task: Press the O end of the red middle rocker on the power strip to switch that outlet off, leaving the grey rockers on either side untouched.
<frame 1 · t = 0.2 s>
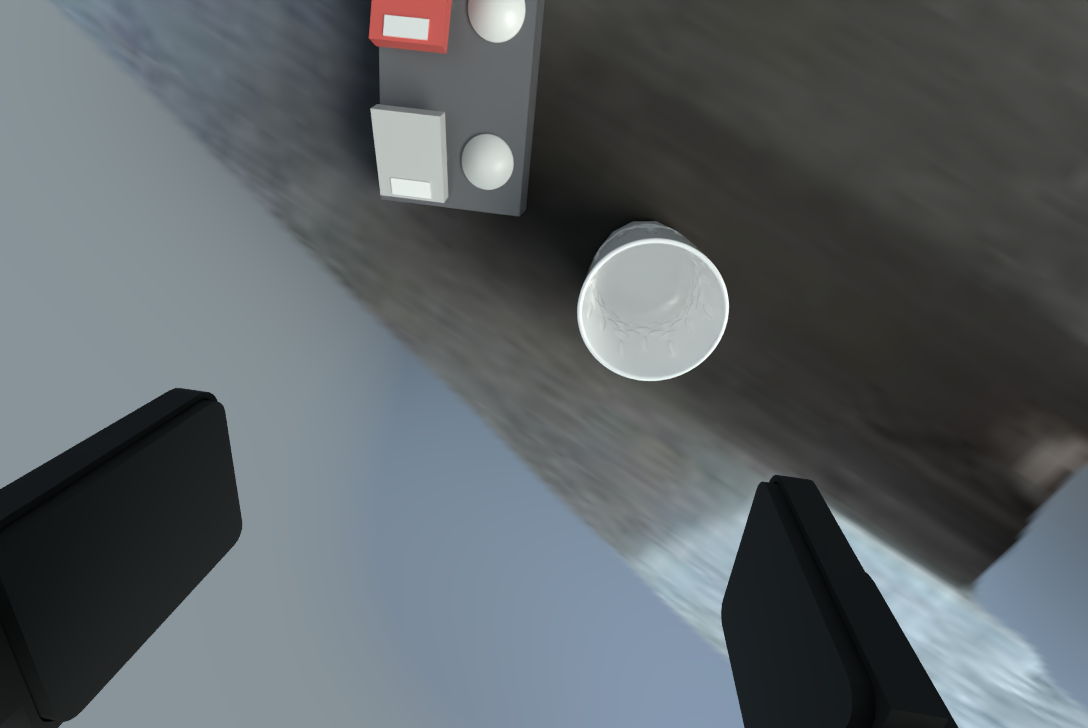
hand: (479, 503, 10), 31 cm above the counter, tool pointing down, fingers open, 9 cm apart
power strip: (469, 15, 33), on the counter
white cup: (642, 268, 38), on the counter
outlet 3 rocker: (411, 155, 33), point 5 cm above the counter, hinge at 15.0°
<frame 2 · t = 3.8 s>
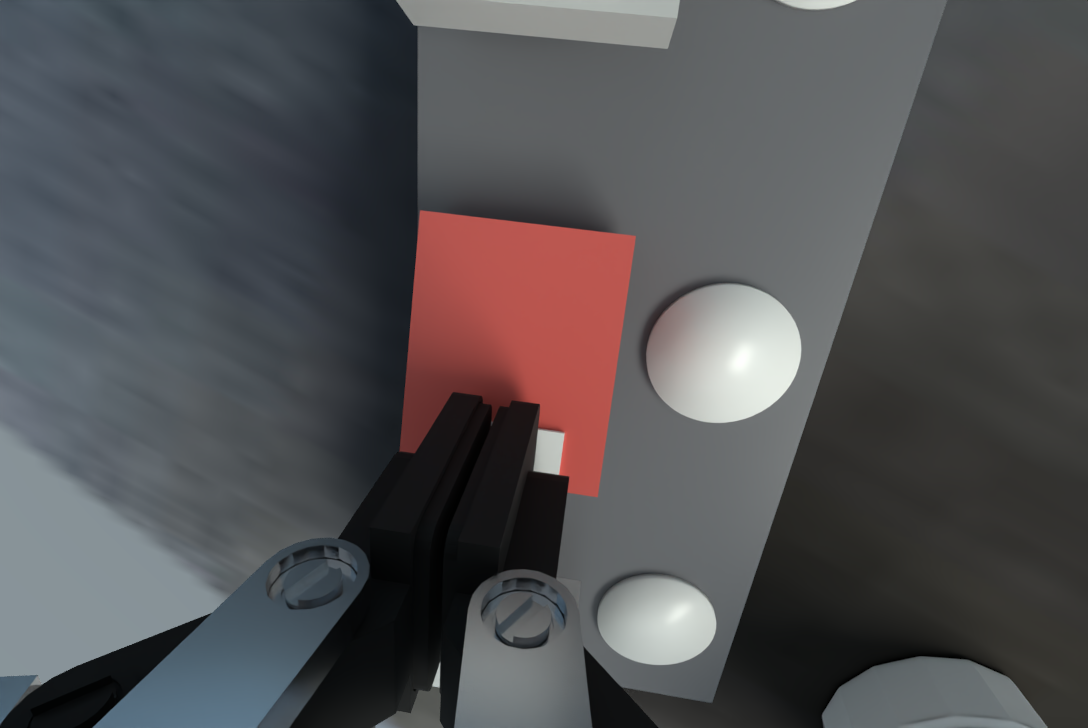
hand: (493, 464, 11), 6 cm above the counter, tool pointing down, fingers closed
power strip: (615, 300, 15), on the counter
white cup: (917, 714, 20), on the counter
outlet 2 rocker: (514, 354, 11), point 5 cm above the counter, hinge at -15.0°, touching gripper
outlet 3 rocker: (491, 639, 14), point 5 cm above the counter, hinge at 15.0°
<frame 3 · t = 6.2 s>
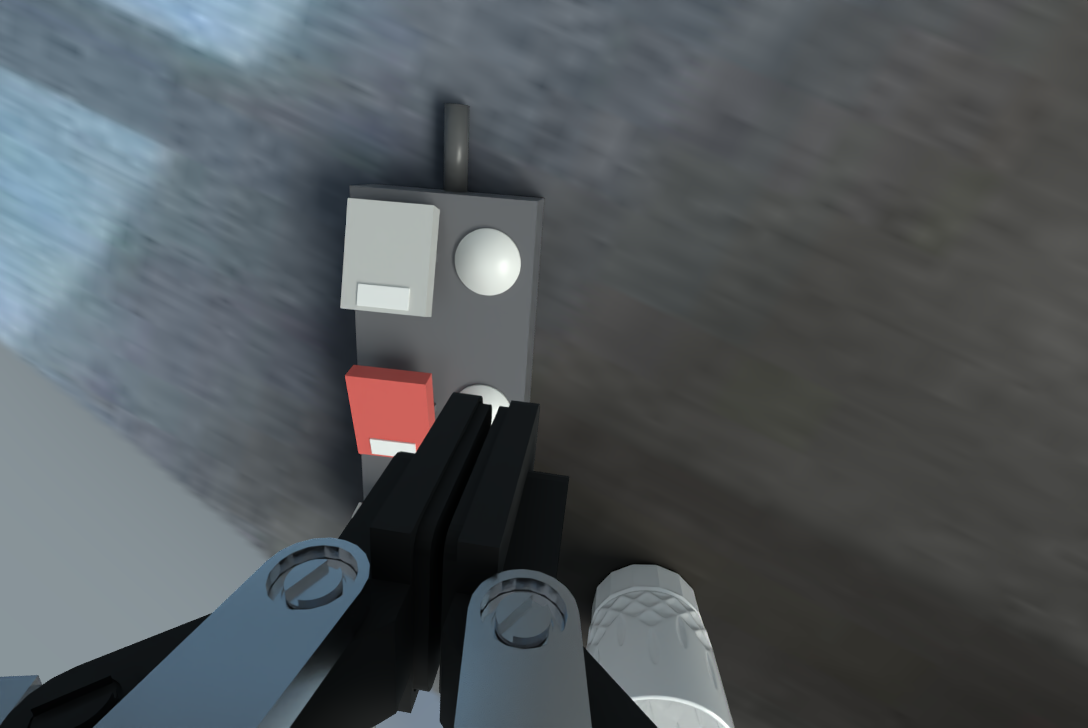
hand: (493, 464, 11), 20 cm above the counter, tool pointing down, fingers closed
power strip: (454, 386, 32), on the counter
white cup: (644, 601, 36), on the counter
outlet 2 rocker: (393, 415, 28), point 5 cm above the counter, hinge at 12.7°
outlet 3 rocker: (396, 544, 31), point 5 cm above the counter, hinge at 15.0°
outlet 1 rocker: (390, 258, 25), point 5 cm above the counter, hinge at -15.0°
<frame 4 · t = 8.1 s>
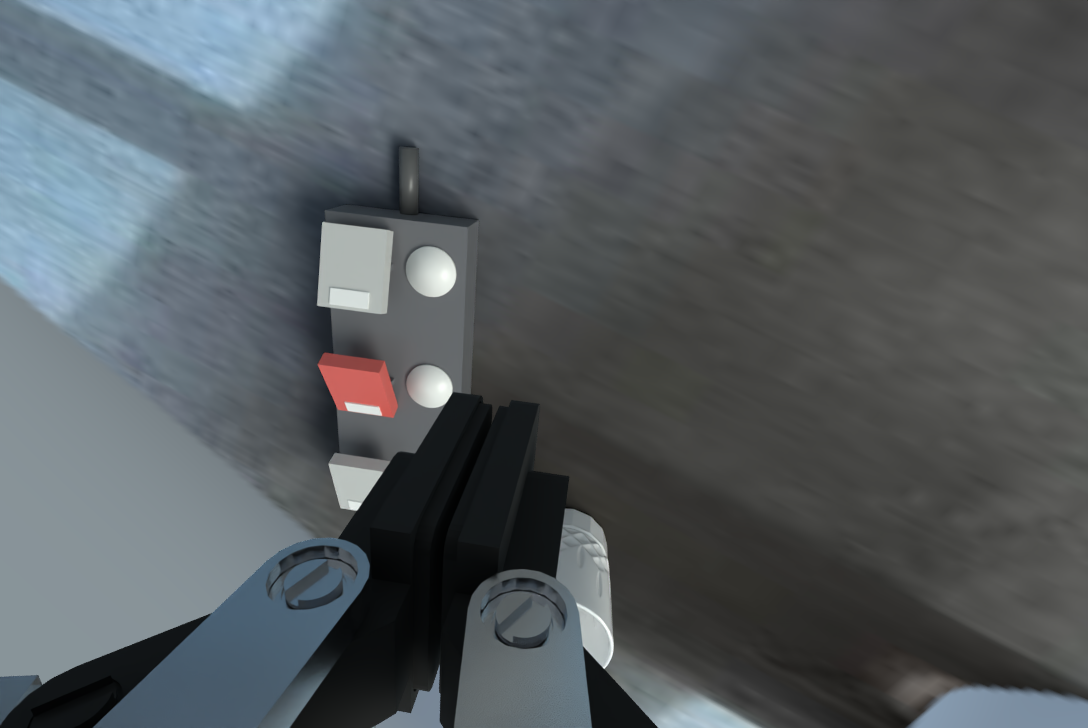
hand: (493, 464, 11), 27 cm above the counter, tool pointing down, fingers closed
power strip: (412, 364, 41), on the counter
white cup: (565, 538, 46), on the counter
outlet 2 rocker: (359, 387, 37), point 5 cm above the counter, hinge at 27.2°, touching power strip
outlet 3 rocker: (364, 485, 40), point 5 cm above the counter, hinge at 15.0°
outlet 1 rocker: (354, 268, 33), point 5 cm above the counter, hinge at -15.0°
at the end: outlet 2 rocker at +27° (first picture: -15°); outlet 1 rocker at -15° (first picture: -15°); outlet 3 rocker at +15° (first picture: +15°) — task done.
